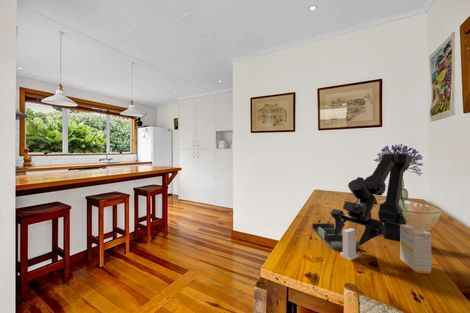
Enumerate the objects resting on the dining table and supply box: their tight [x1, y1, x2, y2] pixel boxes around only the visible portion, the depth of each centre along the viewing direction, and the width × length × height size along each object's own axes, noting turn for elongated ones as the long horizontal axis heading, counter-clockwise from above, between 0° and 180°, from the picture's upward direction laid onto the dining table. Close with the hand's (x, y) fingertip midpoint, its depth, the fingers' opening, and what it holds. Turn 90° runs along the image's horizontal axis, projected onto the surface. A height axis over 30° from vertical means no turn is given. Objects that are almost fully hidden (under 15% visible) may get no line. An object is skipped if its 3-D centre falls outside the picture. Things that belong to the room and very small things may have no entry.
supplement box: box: [399, 224, 432, 275], centre depth 68 cm, size 8×5×13 cm, turn 168°
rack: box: [311, 222, 361, 250], centre depth 91 cm, size 11×22×4 cm, turn 179°
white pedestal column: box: [339, 227, 359, 261], centre depth 75 cm, size 5×4×10 cm
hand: (347, 239), depth 74 cm, fingers open, 9 cm apart
